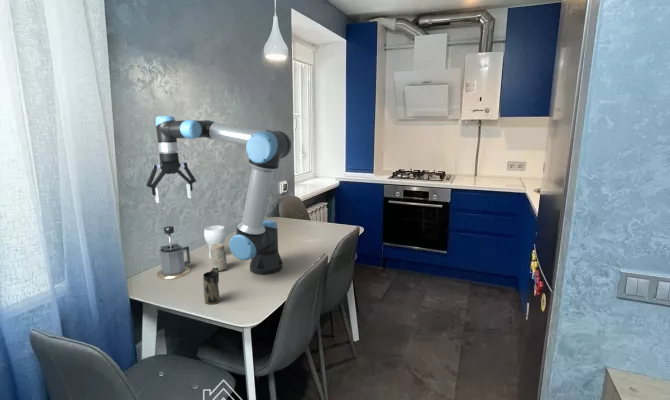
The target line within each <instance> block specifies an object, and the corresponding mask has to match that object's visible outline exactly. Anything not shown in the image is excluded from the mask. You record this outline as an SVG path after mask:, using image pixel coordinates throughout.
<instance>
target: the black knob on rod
mask: <svg viewBox="0 0 670 400" xmlns="http://www.w3.org/2000/svg"><path fill="white" fill-rule="evenodd" d="M163 233H164V234H165V235H168V243H169V244H168V245H170V248H172V244H173V243H172V234H173V233H175V228H174V226H173V225H170V226H169V225H167V226H165V227H163ZM171 252H172V251H171Z"/></svg>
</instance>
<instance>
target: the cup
mask: <svg viewBox="0 0 670 400" xmlns="http://www.w3.org/2000/svg"><path fill="white" fill-rule="evenodd" d="M203 236H204V240H205V243H206V244H207V246H208V249H209V251H208V252H209V253H208V258H209V259H211V253H210V247H211V246H212V245H214V244H218V243H221V244H223V245H224V244H225V242H226V239H227V231H226V228H225V226H224V225H210V226H206V227H205V228H204V232H203ZM224 246H225V245H224Z"/></svg>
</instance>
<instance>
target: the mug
mask: <svg viewBox="0 0 670 400" xmlns="http://www.w3.org/2000/svg"><path fill="white" fill-rule="evenodd" d="M219 273H220V272H219V270H218V268H213V267H212V269H211V270H210V271H207V272H205V273H203V275H202V276H203V279H202V281H203V282H202V283H203V284H202V285H203V297H204V304H205V305H217V304H218V303H220V302H221V296H220V290H219V289H220V288H219V281H220V280H219V279H220V276H219V275H220V274H219Z"/></svg>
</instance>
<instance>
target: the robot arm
mask: <svg viewBox="0 0 670 400" xmlns="http://www.w3.org/2000/svg"><path fill="white" fill-rule="evenodd" d="M155 129H156V136H157V137H156V138H157V145H158V152H159V154H158V155H159V164H152V167H151V168H152V170H151V171H150V175H149V177H148V180H147V182H146V183H145V184H146V187H148V188H151V194H152V196H155V197H154V198H155V202H156V203H157V204H159V203H160V198H159V191H158V190H159V189H158V187H157V186H158V184H159V183H160V182H161V181H162V179H163V177H164V176H165V175H174V174H177V175H179V176H180V177H181V178H182V179H183V181H185V182H187V183H186V193H187V198H188V199H189V200H190V199H192V191H193V184H194V183H196V182H197V180H196V178H195V176H194V175H193V173H192V172H191V170H190V168H189V167H188V163H187V162H184V161H183V162H180V160H179V153H178V151H179V149H178V139H189V140H191V139H197V138H198V139H199V138H200V139H202V138H206V139H211V140H217V141H220V142H221V141H222V142H225V143H226V142H227V143H229V144H230V143H231V144H236V145H239V146H246V147H245V152H246V154H247V157H248V158H249V159H248V164H249V165H250V167H251V171H250V176H249V182H248V186H247V192H246V198H245V204H244V209H243V214H242V220H241V222H239V223H238V224H237V227H236V231H235V234H234V235H233V236H232V237H230V240H229V242H228V247H229V250H230V252H231V253H232V255H233V256H234V257H235V258H236V259H238V260H240V261H244V262H245V261H249V260H250V262H249V263H250V264H249V270H250V271H249V272H250V273H252V274H256V275H271V274H275V273H278V272H280V271H281V270H283V267H284V265H283V260H282V257H281V255H280V252H279V238H278V237H279V234H278V231H279V230H278V229H279V228H278V223H277V222H276V220H273V219H265V215H266V210H267V205H268V200H269V196H270V190H271V185H272V182H273V176H274V172H275V171H276V170H278V169H279V165H280V161H281V160H282V159H285V157H287V156H289V154H290V153H291V151H292V146H293V145H292V140H291V138H290V137H289V135H288V134H287V133H286V132H283V131H281V130H269V129H265V130H256V129H251V128H247V127H242V126H241V127H240V126H236V125H231V124H226V123H221V122H215V121H214V120H210V119H205V120H192V119H185V120H184V119H182V120H175V117H174V116H173V115H165V116H164V115H158V116H156V117H155ZM180 168H183V169H184V171H185V172H186V174H187V176H188V177H187V176H186V174H185V173H183V172H182V171H181V170H180ZM159 169H160V170H161V171H160V172H159V175H157V174H156V173H157V171H158V170H159ZM156 175H157V177H156V178H155V176H156ZM154 179H155V180H154Z"/></svg>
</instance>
